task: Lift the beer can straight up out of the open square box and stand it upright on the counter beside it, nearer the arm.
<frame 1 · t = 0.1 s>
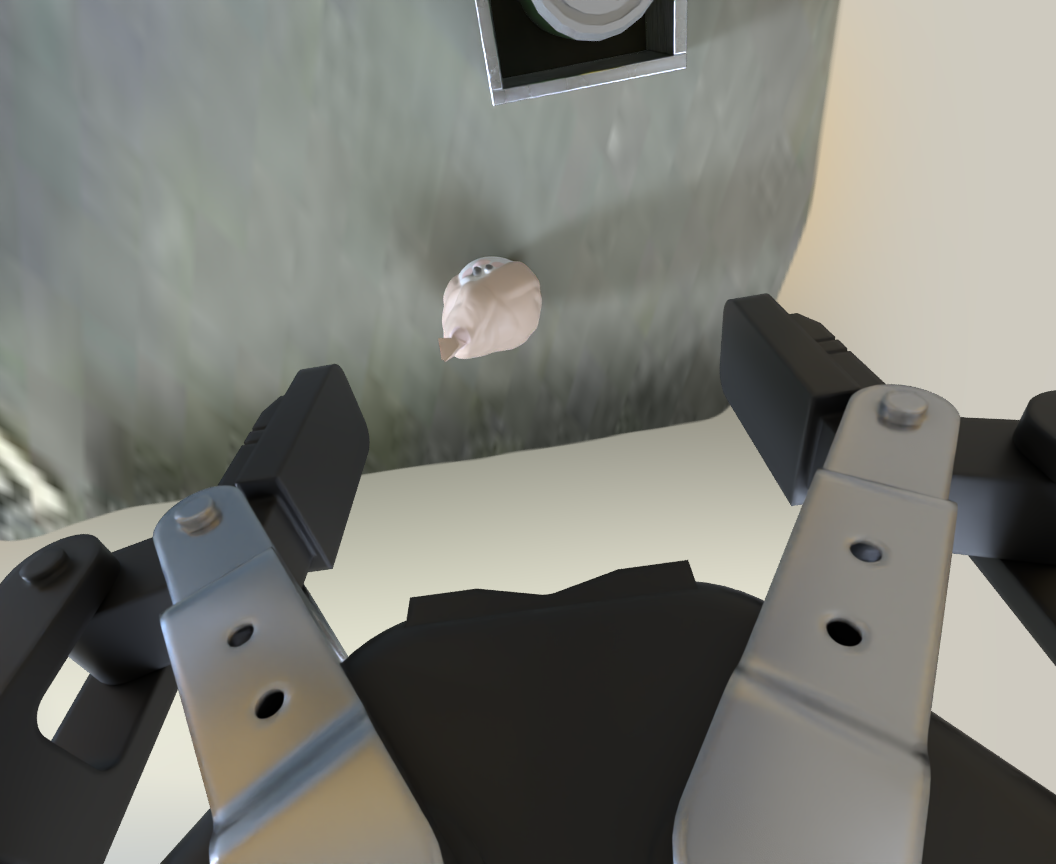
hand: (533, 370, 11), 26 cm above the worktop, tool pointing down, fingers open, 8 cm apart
garlic bulb: (492, 288, 38), on the worktop
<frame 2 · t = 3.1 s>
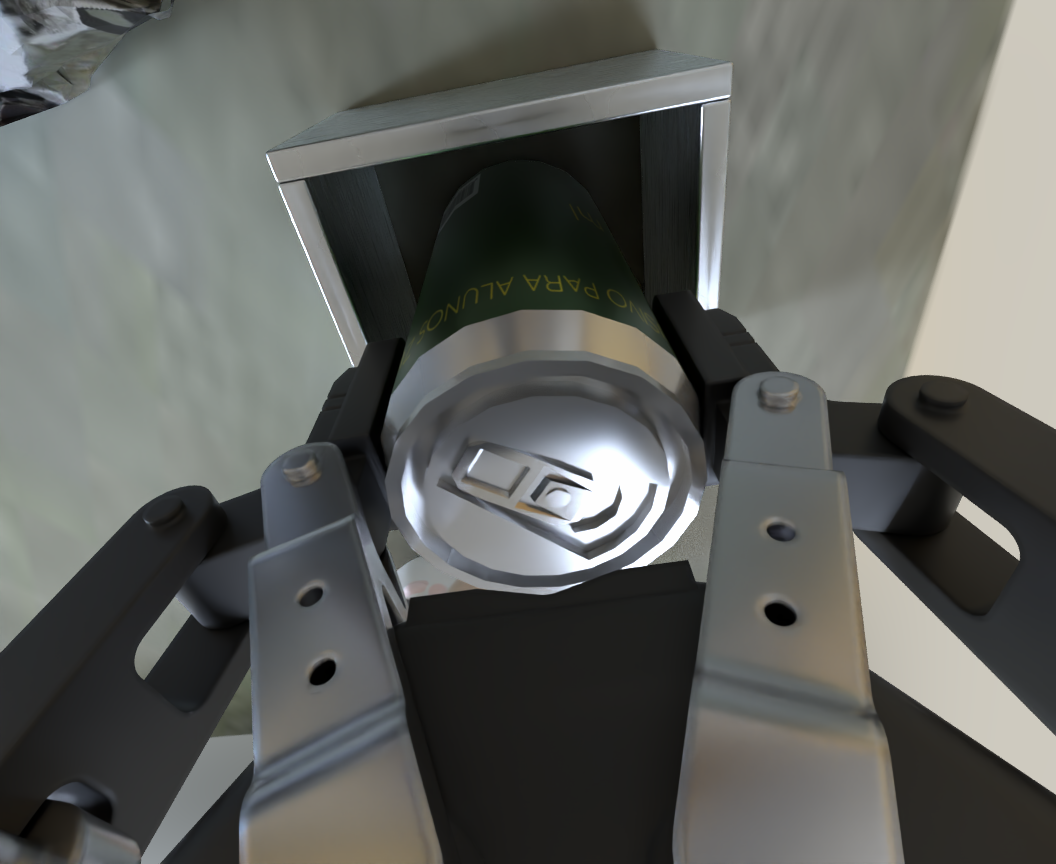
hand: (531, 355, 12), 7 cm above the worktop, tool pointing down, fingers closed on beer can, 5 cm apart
open square box: (521, 243, 18), on the worktop
garlic bulb: (440, 569, 28), on the worktop
beer can: (521, 242, 18), resting in open square box, touching gripper
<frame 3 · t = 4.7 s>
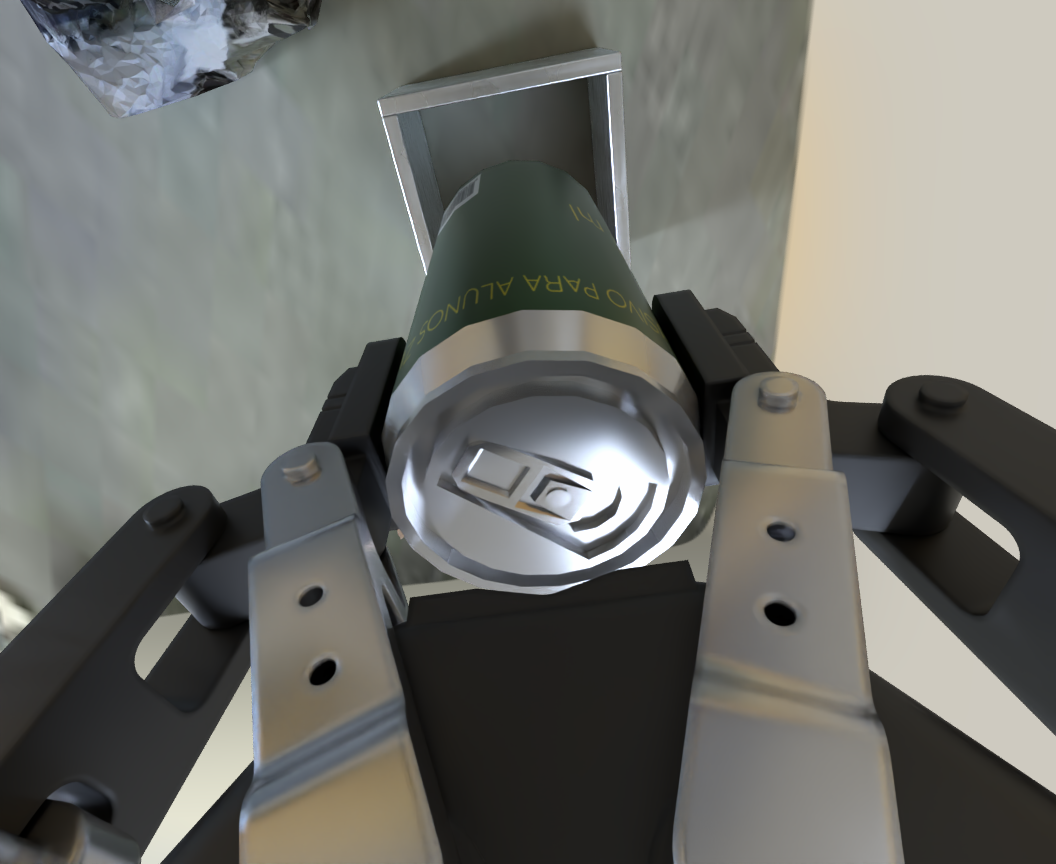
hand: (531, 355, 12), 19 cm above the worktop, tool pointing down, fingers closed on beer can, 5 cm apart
open square box: (515, 174, 27), on the worktop
beer can: (521, 242, 18), point 12 cm above the worktop, touching gripper
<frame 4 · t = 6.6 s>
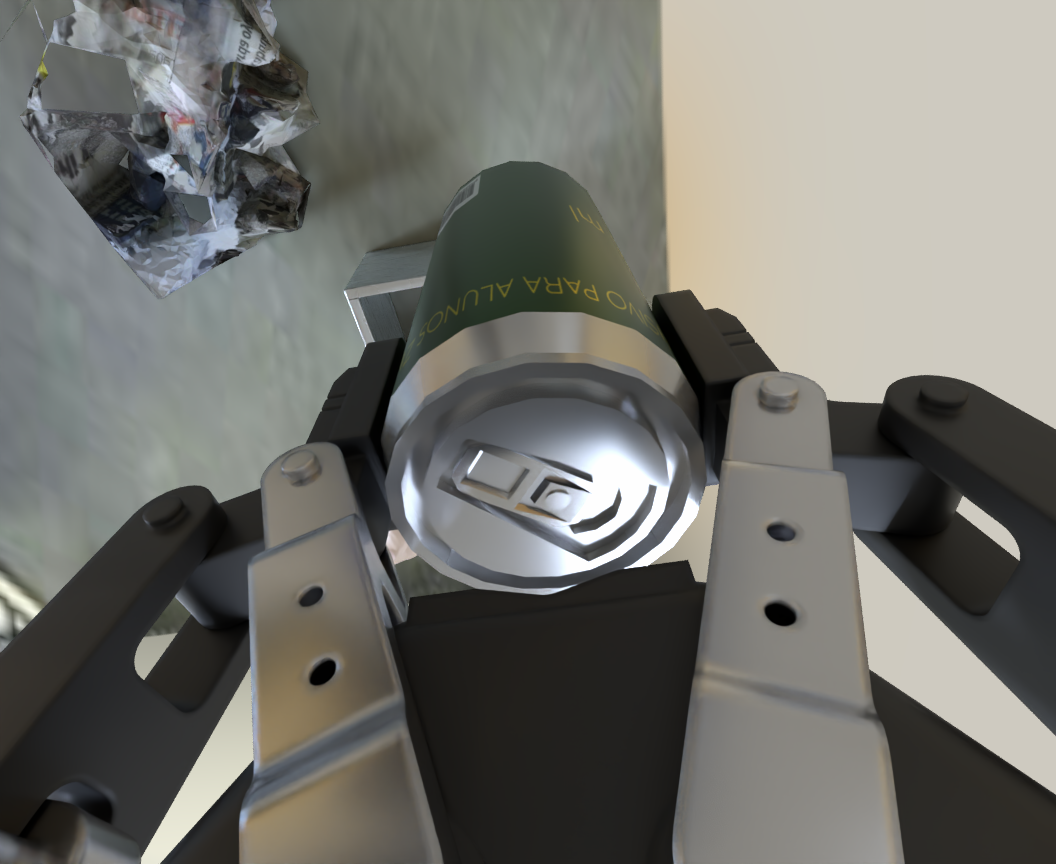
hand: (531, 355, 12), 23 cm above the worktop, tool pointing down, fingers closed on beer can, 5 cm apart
open square box: (455, 307, 36), on the worktop
garlic bulb: (421, 491, 46), on the worktop
foil: (219, 123, 29), on the worktop
beer can: (521, 243, 18), point 16 cm above the worktop, touching gripper
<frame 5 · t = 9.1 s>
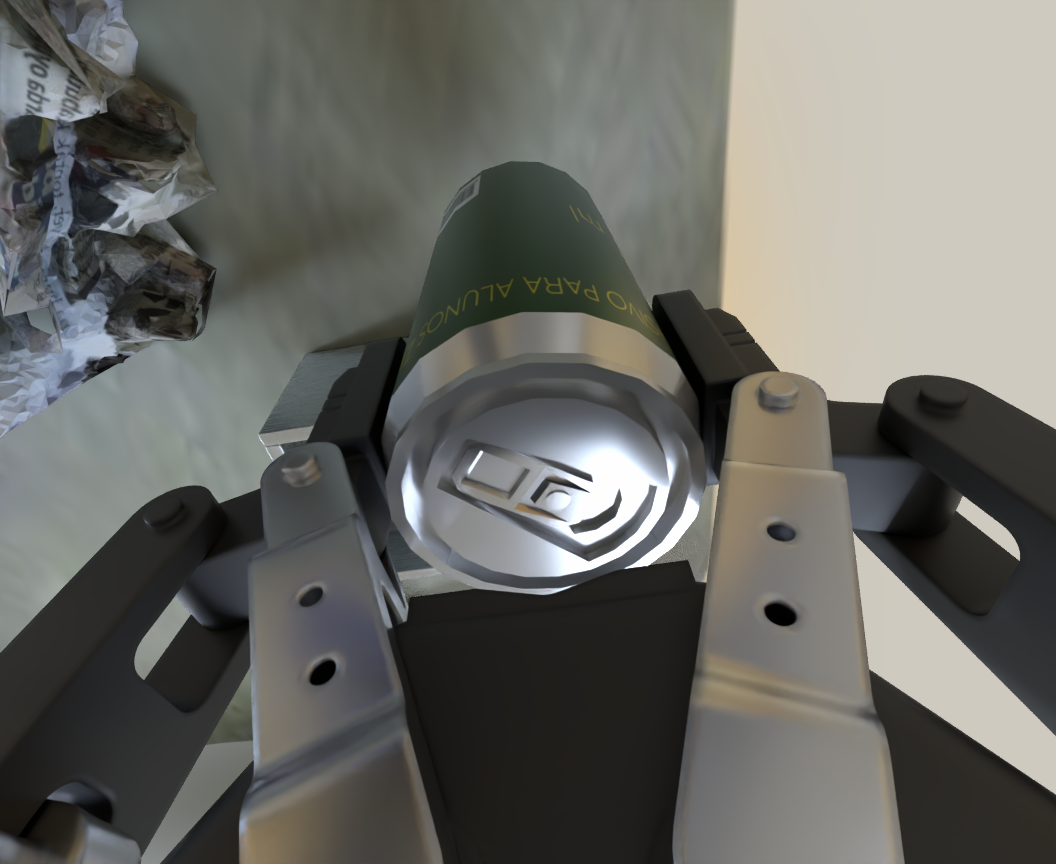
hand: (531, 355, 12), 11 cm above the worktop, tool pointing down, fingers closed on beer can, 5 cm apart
open square box: (431, 419, 27), on the worktop
foil: (74, 186, 20), on the worktop
beer can: (521, 243, 18), point 4 cm above the worktop, touching gripper
when the fingers open (7 cm above the worktop, at t = 10.6 s): beer can stays where it is, on the worktop.
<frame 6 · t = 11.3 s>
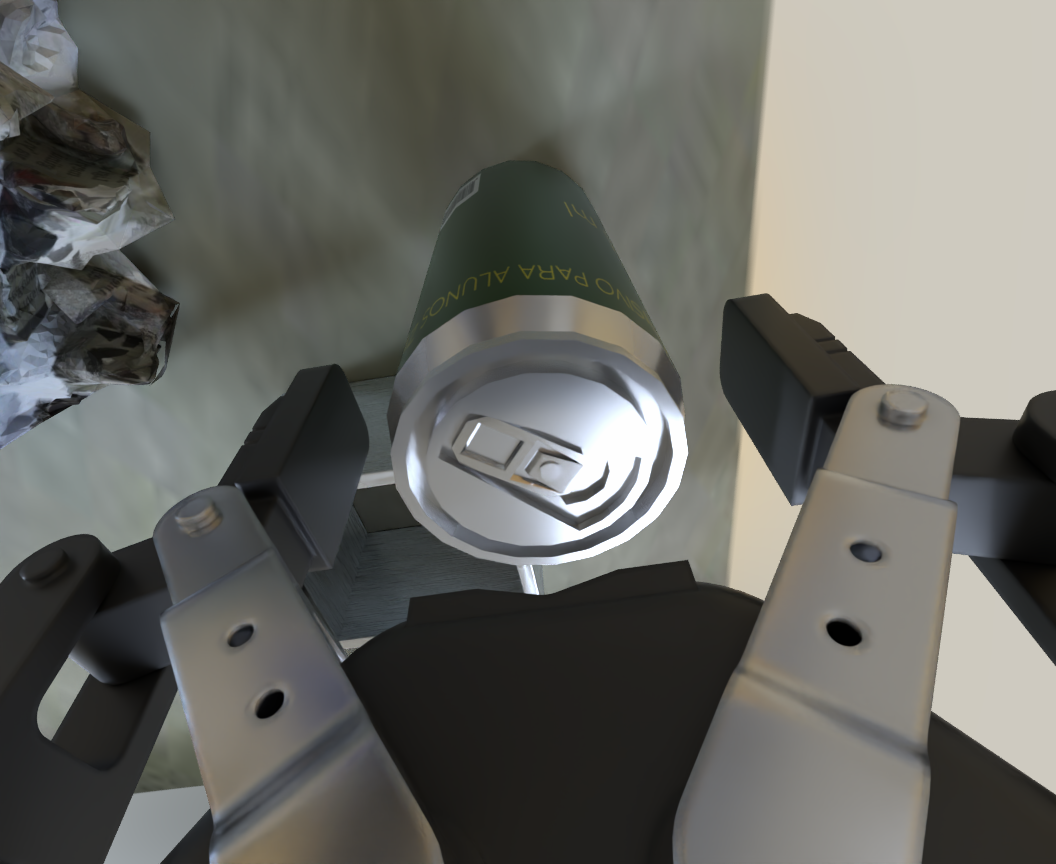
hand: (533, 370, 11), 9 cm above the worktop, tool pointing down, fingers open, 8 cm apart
open square box: (423, 461, 24), on the worktop
foil: (16, 212, 18), on the worktop
beer can: (519, 239, 19), on the worktop
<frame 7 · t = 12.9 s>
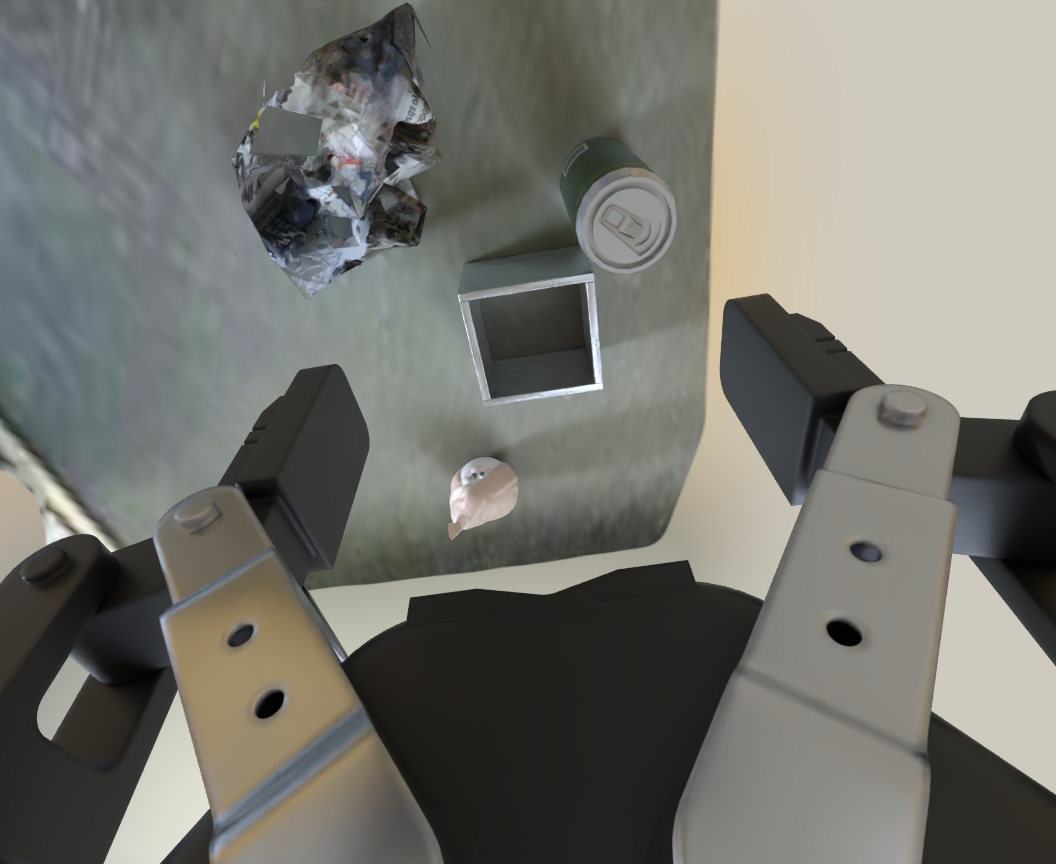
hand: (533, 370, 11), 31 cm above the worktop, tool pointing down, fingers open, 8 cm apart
open square box: (531, 310, 43), on the worktop
garlic bulb: (485, 469, 53), on the worktop
foil: (358, 159, 37), on the worktop
beer can: (596, 177, 38), on the worktop
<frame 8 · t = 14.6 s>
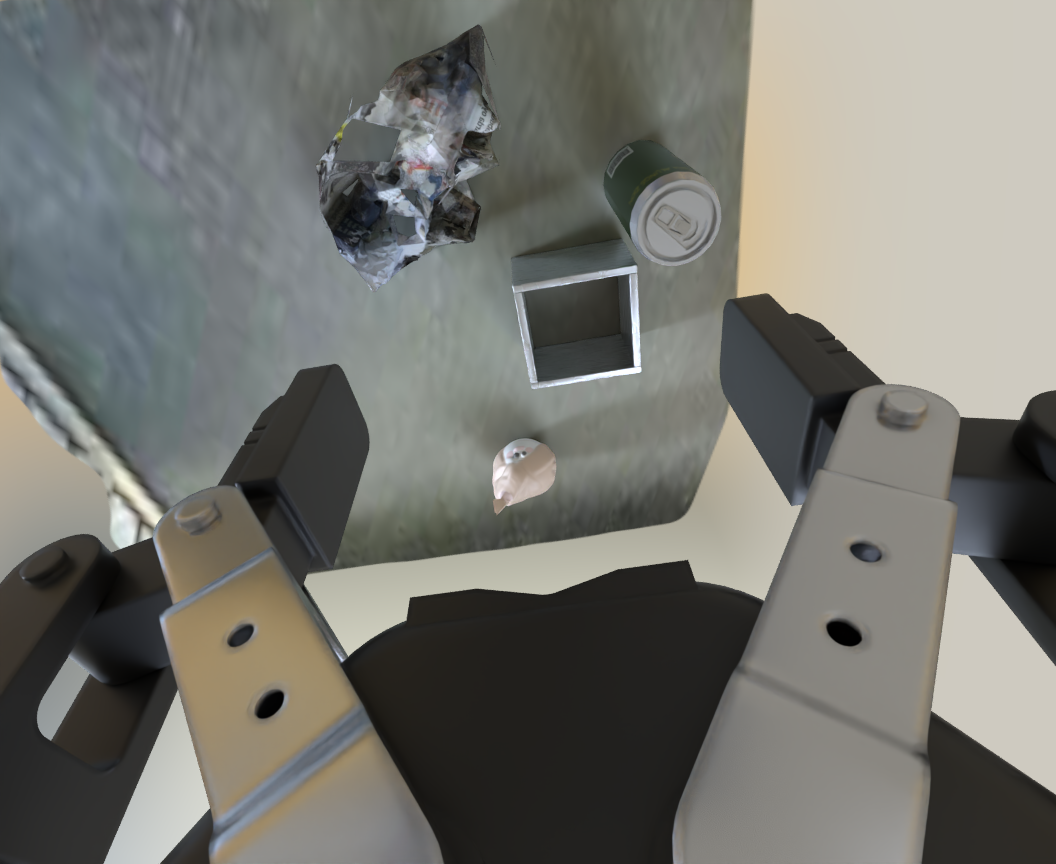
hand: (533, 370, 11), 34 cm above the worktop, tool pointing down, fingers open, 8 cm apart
open square box: (572, 300, 47), on the worktop
garlic bulb: (523, 450, 57), on the worktop
foil: (419, 163, 40), on the worktop
beer can: (636, 177, 41), on the worktop
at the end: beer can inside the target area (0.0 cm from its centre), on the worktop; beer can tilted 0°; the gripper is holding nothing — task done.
